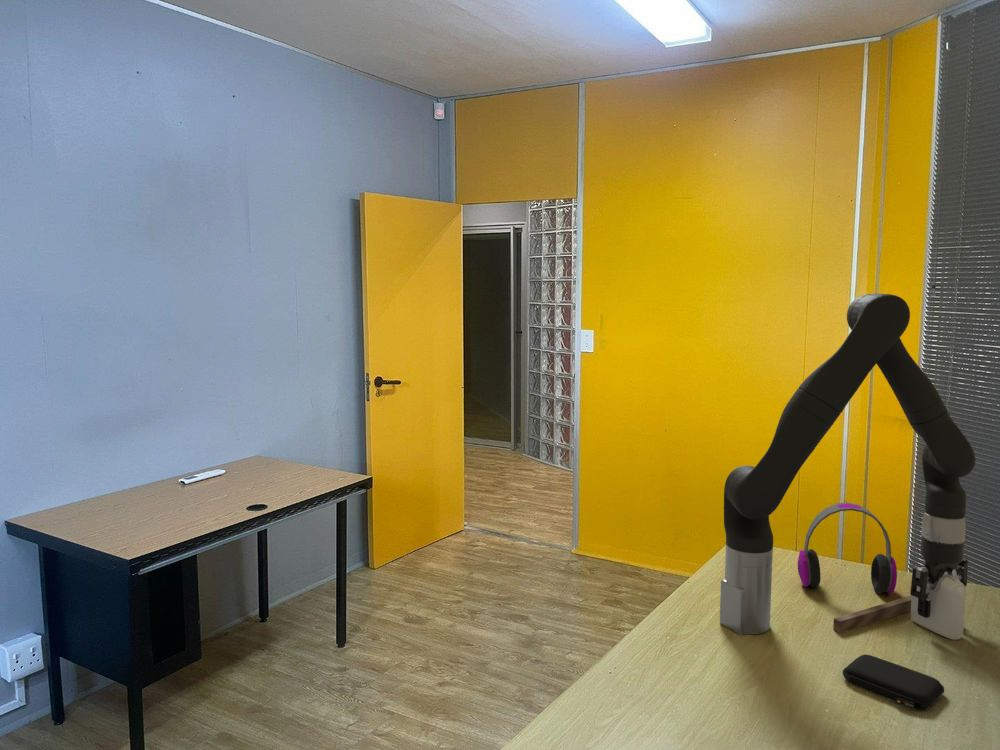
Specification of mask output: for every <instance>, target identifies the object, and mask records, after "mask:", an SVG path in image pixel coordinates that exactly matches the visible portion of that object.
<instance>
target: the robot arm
mask: <svg viewBox="0 0 1000 750" xmlns="http://www.w3.org/2000/svg"><path fill="white" fill-rule="evenodd" d="M910 318H911V310H910V307H909V305H908V303H907V302H906V301H905V300H904V298H902V297H900V296H898V295H895V294H891V293H866V294H862V295H860V296H858V297H856V298H855V299H854V300H853V301H852V302H851V303H850V305H849V306H848V308H847V312H846V321H847V325H848V327H849V329H850V332H849V334H848V335H847V337H846V339H845V340H844V342H843V343H842V344H841V345H840V347H838V349H837V350H836V351H835V352H834V353H833V354H832V355H831V356H830V357H829V358H828V359H826V360H825V361H824V362H823V363H822V364H820V365H819V366H818V367H816V369H815V370H813V371H812V372H811V373H810V374H809V375H808V376H807V377H806V378H805V379H804V380H803V381H802V382H801V384H800V385H799V386H798V388H797V389H796V390H795V391H794V394H793V395H792V396H791V398H789V400H788V402H787V403H786V405H785V407H784V408H783V410H782V413H781V416H780V417H779V420H778V423H777V426H776V429H775V432H774V434H773V438H772V441H771V443H770V445H769V447H768V448H767V450H766V452H765V454H764V455H763V456H762V458H761V459H760V460H759V461H758V463H757V464H756V465H755V466H753V465H741V466H738V467H736V468H734V469H733V470H732V471H731V472H730V473H729V474H728V476H727V477H726V479H725V484H724V488H723V526H724V527H723V528H724V531H725V532H724V533H725V555H724V556H725V558H724V560H725V561H724V578H723V579H721V580H720V597H719V598H720V601H719V603H720V604H719V623H720V624H721V625H723V626H725V627H727V628H728V629H730V630H731V631H733V632H735V633H737V634H738V635H759V634H764V633H767V632H768V631H769V630H770V629H771V628H770V627H771V609H772V608H771V607H772V605H771V604H772V603H771V602H772V581H773V576H772V575H773V556H774V554H773V553H774V534H773V531H772V528H771V523H770V515H771V514H773V513H774V512H775V511H776V509H778V506H779V505H780V504H781V502H782V501H783V499H784V497H785V495H786V493H787V491H788V490H789V488H790V486H791V485H792V483H793V481H794V479H795V477H796V476H797V474H798V472H799V471H800V470H801V468H802V466H803V465H804V463H805V462H806V461H807V460H808V458H809V457H810V456H811V454H812V453H814V450H815V449H816V448H817V446H818V445H819V444H820V443H821V441H822V439H823V438H824V437H825V436H826V434H827V433H828V432H829V430H830V429H831V427H833V425H834V424H835V422H836V421H837V419H838V418H839V417H840V415H841V414H842V413H843V411H844V410H845V409H846V406H847V405H848V403H850V401H851V400H852V398H853V397H854V395H855V394H856V392H857V391H858V390H859V388H860V386H862V384H863V383H864V381H865V379H866V378H867V376H868V375H869V373H870V372H871V371H872V370H873V368H874V367H875V366H876V365H877V367H878V368H879V370H880V371H881V373H882V374H883V377H884V378H885V381H886V382H887V383H888V386H889V387H890V389H891V390H892V392H893V394H894V396H895V397H896V400H897V401H898V403H899V406H900V407H901V410H902V411H903V413H904V415H905V417H906V419H907V420H908V423H909V425H910V426H911V428H912V429H913V430H914V432H915V433H916V434H917V435H918V436H920V437H921V438H922V440H923V441H924V443H925V445H924V447H923V450H922V456H921V463H922V472H923V480H924V484H925V500H924V510H923V511H924V513H923V518H922V522H921V523H922V524H921V533H920V534H921V538H920V548H919V549H920V550H919V553H920V555H921V557H922V558H923V559H924V560H925V561H924V563H923V564H924V565H923V568H921V567H917V566H914V567H913V568H912V572H911V573H912V575H911V576H912V577H911V583H910V584H911V585H910V591H909V592H910V593H909V594H910V596H911V595H912V596H915V597H917V598H918V610H917V611H918V614H919V615H920V616H923V617H925V618H928V617H930V611H931V598H932V596H933V594H934V592H937V591H938V590H939V588H940V586H941V582H942V580H944V579H945V578H946V577H947V575H948V574H949V575H951V576H953V577H955V578H956V579H958V580H959V581H960V582H961V583H962V584H964V586H965V588H966V587H967V585H968V572H969V571H968V570H969V569H968V568H969V567H968V565H969V560H968V559H966V558H964V552H965V543H966V542H965V540H966V529H967V528H966V508H967V494H966V490H965V489H964V488H963V486H962V485H961V484H960V478H963V477H966V476H968V475H970V474H971V473H972V472H973V470H974V469H975V466H976V454H975V452H974V449H973V447H972V445H971V444H970V442H969V440H968V439H967V437H966V436H965V435H964V434H963V432H962V431H961V429H960V428H959V426H958V425H957V424H956V423H955V422H954V420H953V418H951V415H950V414H949V411H948V409H947V407H946V405H945V404H944V403H945V402H944V401H943V400H942V397H941V395H940V394H939V391H938V390H937V388H936V387H935V385H934V384H933V382H932V381H931V380H930V379H929V377H928V375H927V374H926V373H925V372H924V371H923V370H922V369H921V367H920V366H919V365H918V364H917V362H915V360H914V358H913V357H912V356H911V355H910V353H909V351H908V350H907V348H906V347H905V345H904V343H903V341H902V339H901V337H902V335H903V334H905V333H904V332H906V330H907V327H908V326H909V324H910V320H911V319H910ZM959 576H961V578H959ZM927 579H928V581H929V582H930V583H932V584H934V585H930V584H927ZM917 586H918V587H919V589H918V590H917ZM926 588H927V589H929V590H928V592H927V594H926Z"/></svg>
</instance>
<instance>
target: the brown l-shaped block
mask: <svg viewBox="0 0 1000 750" xmlns="http://www.w3.org/2000/svg"><path fill="white" fill-rule="evenodd" d="M911 598H912V595H911V594H910V595H909V596H905V597H901V598H898V599H895V600H891V601H889V602H885V603H881V604H877V605H875V606H871V607H868V608H864V609H861V610H857V611H854V612H851V613H847V614H845V615H841V616H837V617H834V618H833V626H832V627H833V629H832V630H833V631H834V630H835V632H836V633H838V634H840V633H845V632H848V631H851V630H854V629H857V628H861V627H863V626H867V625H870V624H873V623H876V621H877V622H880V621H883V620H886V619H887V620H888V619H889V618H893V617H897V616H899V615H898V614H900V615H902V613H903V614H906V613H908V612H909V613H910V612H911ZM905 612H906V613H905ZM847 630H848V631H847Z"/></svg>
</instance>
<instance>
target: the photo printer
mask: <svg viewBox="0 0 1000 750" xmlns="http://www.w3.org/2000/svg"><path fill="white" fill-rule="evenodd" d="M923 567H924V566H923ZM923 567H920V568H923ZM927 584H930V585H934V584H932V583H930V582H929V581H928V579H927ZM918 589H919V587H918V586H917V590H918ZM928 590H929V589H927V588H926V594H927V592H928ZM966 594H967V590H966V587H965V586H964V584H962V583H961V582H960V581H959V580H958V579H956V578H955V577H953V576H951V575H949V574H948V575H947V577H946V578H945V579H944V580H942V582H941V586H940V588H939V590H938V591H937V592H934V594H933V596H932V598H931V611H930V617H928V618H925V617H923V616H920V615H919V614H918V611H917V610H918V598H917V597H915V596H912V598H911V611H910V620H911V621H912V622H914V623H915V624H917V625H918V626H921V627H923V628H925V629H927V630H930V631H932V632H934V633H936V634H938V635H941V636H943V637H945V638H947V639H950V640H953V641H955V640H960V639H962V636H963V635H964V629H965V628H964V626H965V611H966V610H965V609H966V596H967V595H966Z"/></svg>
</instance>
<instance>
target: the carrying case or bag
mask: <svg viewBox="0 0 1000 750" xmlns="http://www.w3.org/2000/svg"><path fill="white" fill-rule="evenodd" d="M842 676H843V678H844V679H845V681H846V682H848V683H849V684H851V685H853V686H856V687H858V688H860V689H864V690H865V691H868V692H871V693H873V694H876V695H878V696H881V697H884V698H886V699H889V700H891V701H893V702H895V703H896V704H898V705H900V706H901V705H902V706H907V707H909V708H912V709H915V710H917V711H918V710H919V711H927V710H928V709H930V708H932V707H933V706H934V704H935V703H936V702H937V701H938V700H939V699H940V698H941V697H942V696H943V695H944V693H945V687H944V685H942V683H941V682H940V681H939V680H938V679H937V678H935V677H932V676H930V675H927V674H925V673H922V672H919V671H916V670H914V669H911V668H908V667H905V666H902V665H900V664H896V663H894V662H891V661H888V660H885V659H882V658H880V657H877V656H873V655H870V654H862V655H860V656H857V658H855V659H854V660H853V661H851V662H850V663H849V664H848V665H847V666H845V667H844V668H843V670H842Z"/></svg>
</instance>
